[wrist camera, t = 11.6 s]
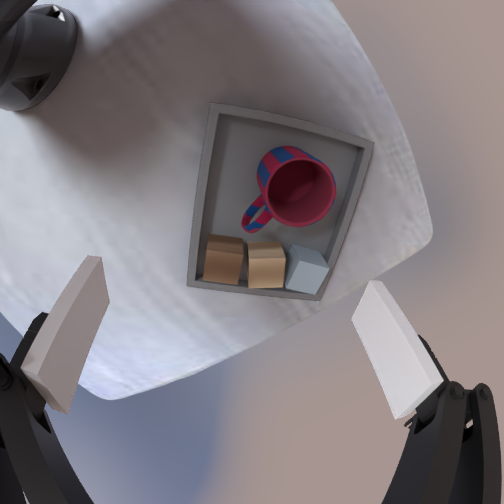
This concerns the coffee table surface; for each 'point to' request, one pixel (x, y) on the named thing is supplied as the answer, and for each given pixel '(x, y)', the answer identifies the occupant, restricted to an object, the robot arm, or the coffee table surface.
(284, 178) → the mug
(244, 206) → the tray
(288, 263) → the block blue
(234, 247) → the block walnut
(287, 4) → the coffee table surface
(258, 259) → the block beech
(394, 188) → the coffee table surface
